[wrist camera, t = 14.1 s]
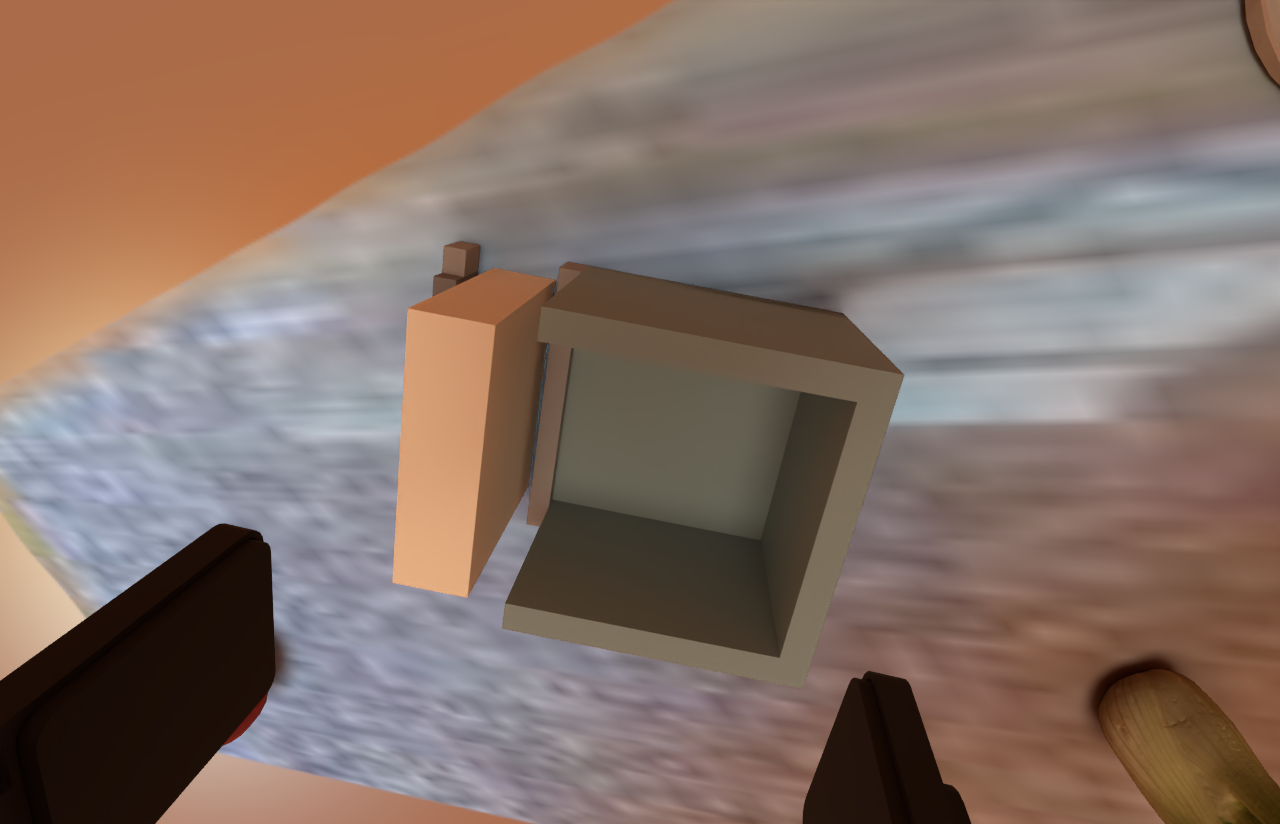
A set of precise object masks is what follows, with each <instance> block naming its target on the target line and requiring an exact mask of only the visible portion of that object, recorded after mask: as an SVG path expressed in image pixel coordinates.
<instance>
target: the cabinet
mask: <svg viewBox="0 0 1280 824" xmlns="http://www.w3.org/2000/svg"><path fill="white" fill-rule="evenodd" d="M479 253H480V245H476V244H471V243H465V242H460V241H459V242H455V243H452V244H449V245H445V246H444V254H443V268H442V273H441V274H438V275H436V276H434V282H433V296H435V295H437V294H439V293H442V292H444V291H446V290H448V289H450V288H452V287H454V286H456V285H459V284H461V283H463V282H465V281H467V280H469V279H471V278H473V277H475V276H478V264H479ZM537 341H538V342H543V343H549V344H550V346H549V354H548V361H547V369H546V377H545V385H544V392H543V400H542V408H541V416H540V423H539V431H538V439H537V447H536V454H535V462H534V470H533V477H532V485H531V493H530V501H529V508H528V516H527V524H530V525H535V526H540V527H539V530H538V532H537V534H536V536H535V539H534V541H533V543H532V545H531V547H530V550H529V552H528V554H527V556H526V558H525V561H524V563H523V565H522V567H521V569H520V572H519V574H518V576H517V578H516V581H515V583H514V585H513V587H512V589H511V592H510V594H509V596H508V598H507V600H506V603H505V609H504V617H503V625H502V629H507V630H512V631H517V632H522V633H527V634H532V635H537V636H542V637H547V638H552V639H557V640H562V641H567V642H572V643H577V644H582V645H587V646H592V647H597V648H602V649H607V650H612V651H617V652H622V653H627V654H632V655H637V656H642V657H647V658H652V659H657V660H662V661H667V662H672V663H677V664H682V665H687V666H692V667H697V668H702V669H707V670H712V671H717V672H722V673H727V674H732V675H737V676H742V677H747V678H752V679H757V680H762V681H767V682H772V683H777V684H782V685H787V686H792V687H797V688H802V689H803V686H804V683H805V680H806V677H807V674H808V670H809V667H810V664H811V661H812V658H813V655H814V652H815V649H816V646H817V643H818V640H819V637H820V633H821V630H822V627H823V624H824V621H825V618H826V615H827V612H828V609H829V606H830V603H831V600H832V596H833V593H834V590H835V587H836V584H837V581H838V578H839V575H840V572H841V569H842V566H843V563H844V559H845V556H846V553H847V550H848V547H849V544H850V541H851V538H852V535H853V532H854V529H855V526H856V522H857V519H858V516H859V513H860V510H861V507H862V504H863V501H864V498H865V495H866V492H867V489H868V485H869V482H870V479H871V476H872V473H873V470H874V467H875V464H876V461H877V458H878V455H879V452H880V448H881V445H882V442H883V439H884V436H885V433H886V430H887V427H888V424H889V421H890V418H891V415H892V411H893V408H894V405H895V402H896V399H897V396H898V393H899V390H900V387H901V384H902V381H903V378H904V374H903V373H902V372H901V371H900V370H899V369H898V368H897V367H896V366H895V365H894V364H893V363H892V362H891V361H890V360H889V359H888V358H887V357H886V356H885V355H884V354H883V353H882V352H881V351H880V350H879V349H878V348H877V347H876V346H875V345H874V344H873V343H872V342H871V341H870V340H869V339H868V338H867V337H866V336H865V335H864V334H863V333H862V332H861V331H860V330H859V329H858V328H857V327H856V326H855V325H854V324H853V323H852V322H851V321H850V320H849V319H848V318H847V317H846V316H845V315H844V314H843V313H838V312H833V311H827V310H822V309H817V308H811V307H806V306H801V305H795V304H790V303H785V302H779V301H774V300H769V299H763V298H758V297H753V296H747V295H742V294H737V293H731V292H726V291H721V290H715V289H710V288H705V287H699V286H694V285H689V284H684V283H678V282H673V281H668V280H662V279H657V278H652V277H646V276H641V275H636V274H630V273H625V272H620V271H614V270H609V269H604V268H598V267H593V266H588V265H582V264H577V263H572V262H567V263H566V264H564V265H563V266H561V267H560V268H559V276H558V284H557V292H556V294H555V295H554V296H553V297H552V298H551V299H549V300H548V301H547V302H546V303H545V304H543V305H542V306H541V314H540V323H539V331H538V339H537Z"/></svg>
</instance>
